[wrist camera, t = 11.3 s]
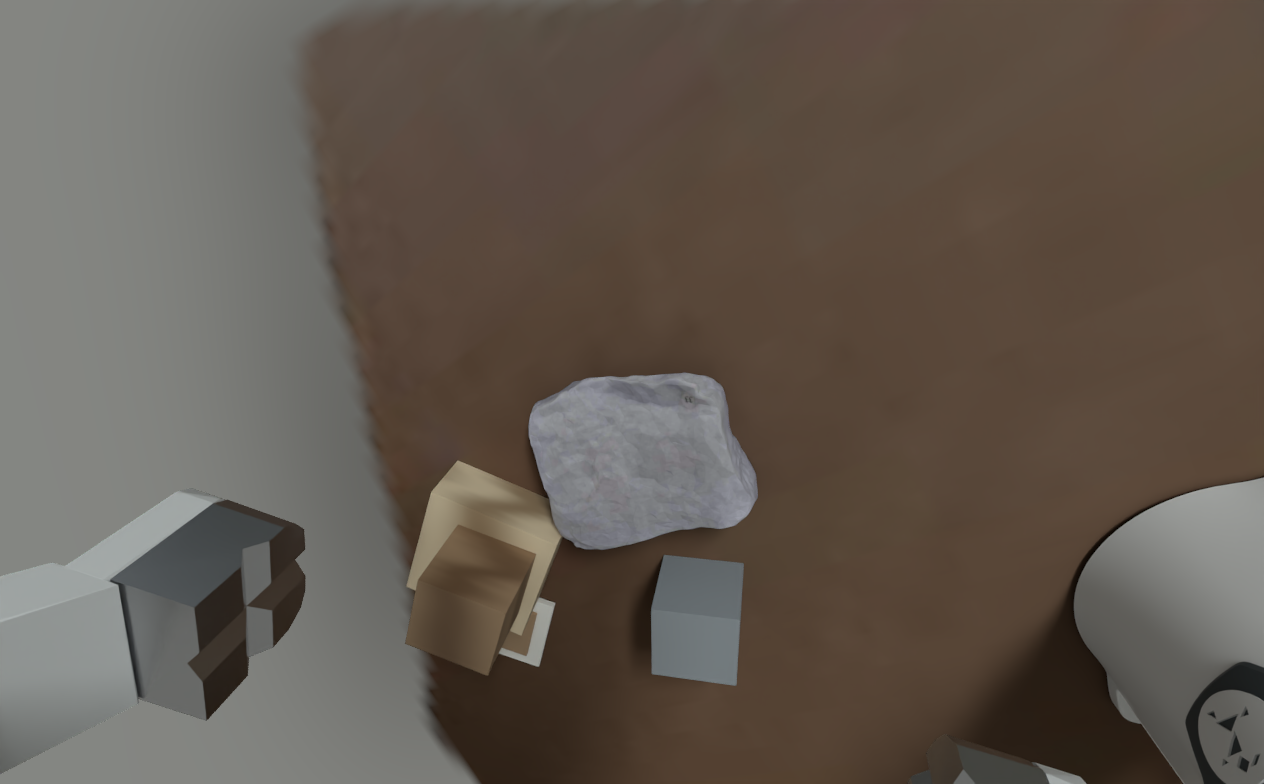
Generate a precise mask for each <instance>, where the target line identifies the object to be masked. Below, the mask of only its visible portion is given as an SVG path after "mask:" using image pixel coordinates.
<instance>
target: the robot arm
mask: <svg viewBox="0 0 1264 784" xmlns="http://www.w3.org/2000/svg"><path fill="white" fill-rule="evenodd" d="M304 550H305V537H304V529H303V528H301V527H300V526H298V525H296V524H294V523H292V522H289V521H286V520H283V519H280V518H277V517H275V516H272V515H269V514H266V513H263V512H260V511H258V510H255V509H252V508H249V507H246V506H244V505H241V504H238V503H235V502H232V501H230V500H225V499H222V498H219V497H216V496H213V495H210V494H208V493H205V492H202V491H199V490H196V489H194V488H190V489H186V490H181V491H177V492H175V493H174V494H172V495H171V496H169V497H168V498H166V499H165V500H163V501H162V502H161V503H159V504H157V505H156V506H154V507H153V508H151V509H150V510H148V511H147V512H145V513H144V514H142V515H141V516H139V517H138V518H136V519H135V520H133V521H132V522H130V523H129V524H127V525H126V526H124V527H123V528H121V529H120V530H118V531H117V532H115V533H114V534H113V535H111V536H109V537H108V538H106V539H105V540H103V541H102V542H100V543H99V544H97V545H96V546H94V547H93V548H92V549H90V550H88V551H87V552H85V553H84V554H82V555H81V556H79V557H78V558H76V559H75V560H73V561H72V562H70V563H69V564H67V565H66V566H63V565H60V564H56V563H49V564H45V565H42V566H38V567H34V568H30V569H27V570H23V571H19V572H15V573H11V574H7V575H4V576H0V774H1V773H3V772H5V771H7V770H9V769H11V768H13V767H15V766H17V765H19V764H21V763H23V762H25V761H27V760H29V759H31V758H33V757H34V756H36V755H39V754H41V753H43V752H45V751H46V750H48V749H50V748H52V747H54V746H56V745H58V744H60V743H62V742H64V741H66V740H68V739H70V738H72V737H74V736H76V735H78V734H80V733H82V732H84V731H86V730H88V729H90V728H91V727H94V726H96V725H97V724H100V723H102V722H103V721H106V720H108V719H109V718H111V717H113V716H115V715H117V714H119V713H121V712H123V711H125V710H127V709H129V708H131V707H133V706H135V705H137V704H138V703H139V700H138V699H140V700H144V701H147V702H150V703H153V704H156V705H159V706H162V707H165V708H169V709H172V710H175V711H178V712H181V713H184V714H187V715H191V716H193V717H196V718H199V719H203V720H207V719H209V718H210V716H211V715H212V714H213V713H214V712H215V711H216V710H217V709H218V708H219V707H220V705H221V704H222V703H223V702H224V701H225V700H226V699H227V698H228V697H229V696H230V694H231V693H232V692H233V691H234V690H235V689H236V688H237V687H238V686H239V685H240V683H241V682H242V681H243V680H244V679H245V678H246V677H247V676H248V666H249V657H251V656H254V655H256V654H258V653H261V652H263V651H266V650H268V649H270V648H273V647H274V646H275V645H276V644H277V642H278V641H279V640H280V639H281V637H283V635H284V634H285V633H286V632H287V631H288V630H289V628H290V626H291V624H292V623H293V621H294V619H295V617H296V615H297V613H298V612H299V610H300V608H301V605H302V601H303V597H304V593H305V575H304V573H303V571H302V570H301V568H300V567H299V565H298V564H297V562H296V561H295V559H296V558H297V557H298V556H299V555H300V554H301V553H302V552H303V551H304ZM1074 616H1075V621H1076V625H1077V628H1078V631H1079V633H1080V635H1081V638H1082V639H1083V641H1084V643H1085V644H1086V646H1087V647H1088V649H1089V650H1090V651H1091V652H1092V653H1093V655H1094V656H1095V657H1096V658H1097V660H1098V661H1099V662H1100V663H1101V665H1102V666H1103V667H1104V669H1105V671H1106V673H1107V681H1108V689H1109V694H1110V698H1111V700H1112V702H1113V704H1114V705H1115V706H1116V708H1117V709H1118V711H1119V712H1120V713H1121V715H1122V716H1123V717H1124V718H1125V719H1127V720H1129V721H1131V722H1134V723H1138V724H1142V726H1143V727H1144V728H1145V730H1146V731H1147V733H1148V734H1149V736H1150V737H1151V738H1152V740H1153V741H1154V743H1155V744H1156V746H1157V747H1158V748H1159V750H1160V751H1161V753H1162V754H1163V756H1164V757H1165V758H1166V760H1167V761H1168V763H1169V764H1170V765H1171V767H1172V768H1173V770H1174V771H1175V772H1176V774H1177V775H1178V777H1179V778H1180V779H1181V781H1182V782H1183V784H1264V477H1263V478H1260V479H1256V480H1251V481H1246V482H1240V483H1234V484H1228V485H1222V486H1216V487H1211V488H1206V489H1202V490H1198V491H1194V492H1191V493H1188V494H1184V495H1181V496H1178V497H1176V498H1173V499H1170V500H1168V501H1165V502H1163V503H1161V504H1159V505H1156V506H1154V507H1152V508H1150V509H1148V510H1146V511H1145V512H1143V513H1141V514H1139V515H1138V516H1136V517H1134V518H1133V519H1131V520H1130V521H1128V522H1127V523H1125V524H1124V525H1123V526H1121V527H1120V528H1119V529H1117V530H1116V531H1115V532H1114V533H1113V534H1112V535H1110V536H1109V537H1108V538H1107V539H1106V540H1105V541H1104V542H1103V543H1102V544H1101V545H1100V547H1099V548H1098V549H1097V550H1096V551H1095V552H1094V554H1093V555H1092V556H1091V558H1090V559H1089V561H1088V562H1087V564H1086V566H1085V568H1084V569H1083V571H1082V573H1081V576H1080V578H1079V581H1078V584H1077V587H1076V591H1075V597H1074ZM926 755H927V760H928V764H929V769H930V770H927V771H925V772H922V773H919V774H917V775H914V776H911V777H910V779H909V781H908V782H907V784H1086V783H1085V782H1084V780H1083V779H1082V778H1081V777H1079V776H1076V775H1073V774H1070V773H1067V772H1063V771H1060V770H1057V769H1054V768H1051V767H1048V766H1044V765H1041V764H1038V763H1035V762H1030V761H1028V760H1026V759H1023V758H1019V757H1016V756H1013V755H1010V754H1007V753H1004V752H1000V751H997V750H994V749H991V748H988V747H984V746H981V745H978V744H975V743H972V742H968V741H965V740H962V739H959V738H956V737H952V736H949V735H946V734H945V735H943V736H941V737H939V738H937V739H936V740H935V741H934V742H933V744H932V745H931V747H930V748H929V750H928V751H927V753H926Z"/></svg>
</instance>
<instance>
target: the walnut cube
mask: <svg viewBox="0 0 1264 784" xmlns="http://www.w3.org/2000/svg"><path fill="white" fill-rule="evenodd" d="M535 557H536V554H535V553H532V552H530V551H527V550H524V549H522V548H519V547H516V546H514V545H511V544H509V543H506V542H503V541H501V540H498V539H495V538H493V537H490V536H487V535H485V534H482V533H479V532H477V531H474V530H472V529H469V528H466V527H464V526H461V525H457V526H456V528H455V529H454V531H453V532H452V533H451V535H450V536H449V537H448V539H447V540H446V542H445V543H444V544H443V546H442V547H441V548H440V550H439V551H438V553H437V554H436V555H435V557H434V558H433V560H432V561H431V562H430V564H429V565H428V566H427V568H426V569H425V571H424V572H423V573H422V575H421V576H420V577H419V579H418V581H417V586H416V592H415V597H414V602H413V607H412V612H411V617H410V622H409V627H408V632H407V637H406V642H405V644H407V645H410V646H412V647H415V648H418V649H420V650H423V651H425V652H428V653H430V654H433V655H435V656H438V657H441V658H443V659H446V660H448V661H451V662H453V663H456V664H459V665H461V666H464V667H466V668H469V669H471V670H474V671H477V672H479V673H482V674H484V675H487V676H488V674H489V672H490V670H491V668H492V666H493V664H494V662H495V660H496V658H497V656H498V654H499V652H500V650H501V648H502V646H503V644H504V642H505V640H506V637H507V635H508V633H509V631H510V629H511V627H512V625H513V623H514V621H515V619H516V617H517V615H518V613H519V610H520V606H521V603H522V600H523V596H524V593H525V590H526V586H527V583H528V580H529V577H530V573H531V570H532V567H533V563H534V560H535Z"/></svg>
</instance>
